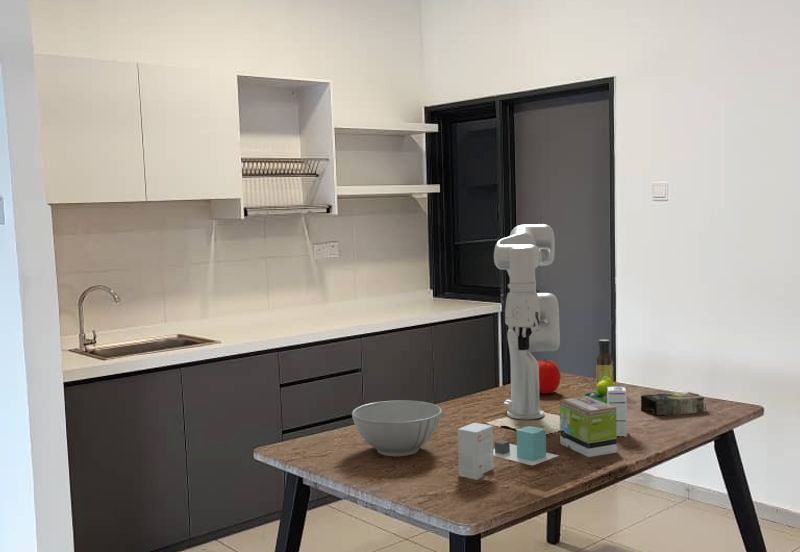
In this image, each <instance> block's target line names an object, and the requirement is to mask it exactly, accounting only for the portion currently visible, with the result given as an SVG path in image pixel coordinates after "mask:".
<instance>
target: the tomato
mask: <svg viewBox="0 0 800 552" xmlns="http://www.w3.org/2000/svg"><path fill="white" fill-rule="evenodd" d="M537 362H538V365H539V394H545V395H546V394H552V393H554V392H555V391H556V390H557V389H558V388H559V386H560V383H561V372H560V368H559V367H558V365H557V363H556V362H554V361H553V360H550V359H547V358H545V359H538V360H537Z"/></svg>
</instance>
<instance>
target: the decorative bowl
mask: <svg viewBox="0 0 800 552" xmlns="http://www.w3.org/2000/svg"><path fill="white" fill-rule="evenodd" d="M442 415H443V408H441V407H440V406H439V405H437V404H434V403H431V402H426V401H421V400H420V401H418V400H405V399H403V400H402V399H401V400H399V399H398V400H396V399H395V400H386V401H377V402H376V401H375V402H371V403H366V404H362V405H361V406H358V407H356V408H354V409H353V410H352V412H351V416H352V420H353V423H354V425H355V427H356V429H357V431H358V433H359V435H360V436H361V437H362V438H363V439H364V441H365V442H366V443H367V444H368V445H370V446H371V447H373V448H374V449H376V450H377V453H378V454H380V455H383V456H385V457H387V456H388V457H407V456H411V455H414V454H416V453H417V452H419V449H420V447H423V446H424V445H425V444H426V443H427V442H428V441H429V440H431V438H432V437H433V436H434V434H435V432H436V431H437V428H438V427H439V424H440V421H441V419H442Z"/></svg>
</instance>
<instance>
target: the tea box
mask: <svg viewBox="0 0 800 552" xmlns="http://www.w3.org/2000/svg"><path fill="white" fill-rule="evenodd" d="M616 426H617V424H616V407H614V406H612V405H609V404H606V403H604V402H601V401H598V400H596V399H593V398H590V397H588V396H584V397H583V396H578V397H572V398H566V399H559V435H560V436H559V437H560V441H559V442H560V445H562V446H564V447H566V448H568V449H570V450H573V451H575V452H577V453H579V454H581V455H584V456H585V457H587V458H590V457H591V458H592V457H598V456H602V455H604V456H605V455H609V454H614V453H617V449H618V448H617V442H618V441H617V427H616Z"/></svg>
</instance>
